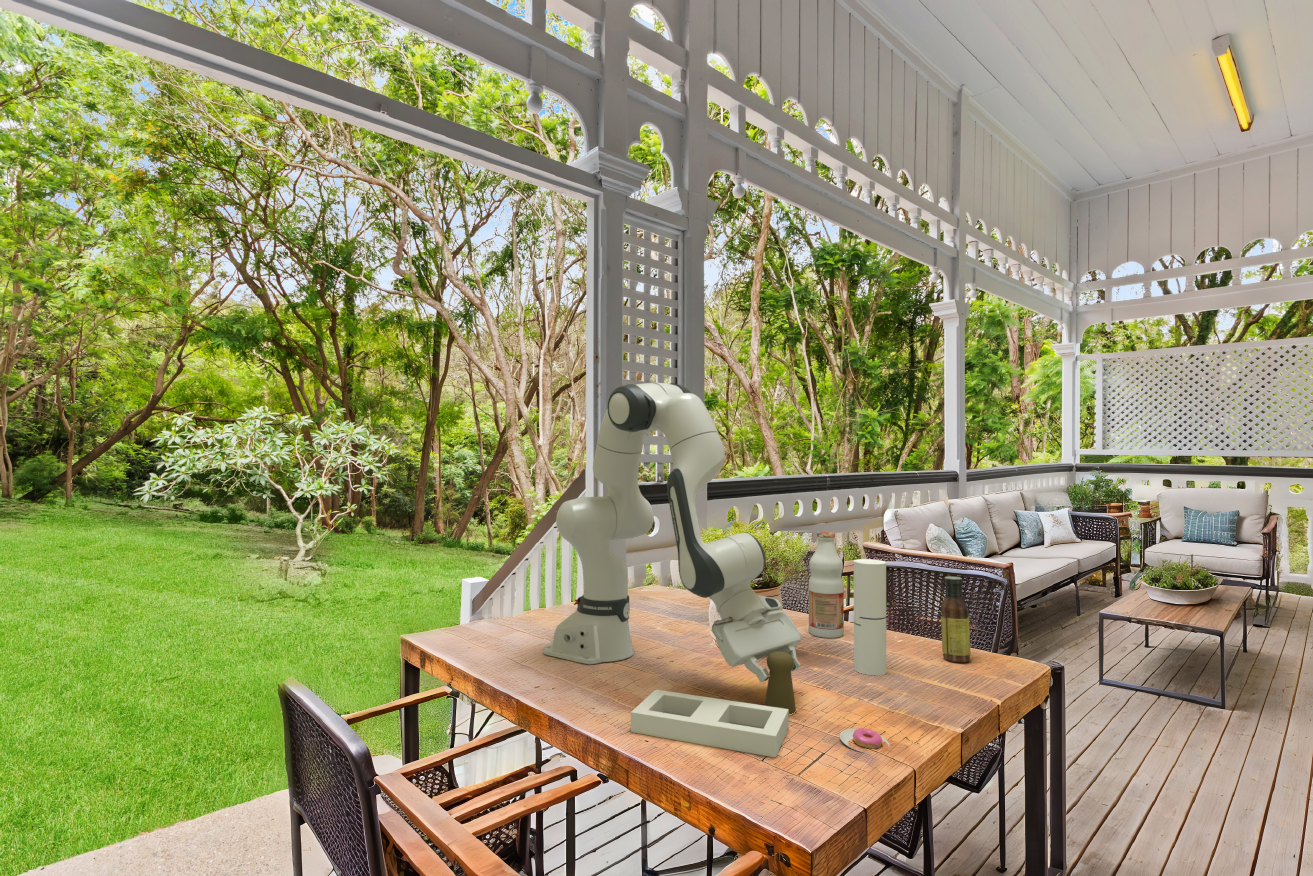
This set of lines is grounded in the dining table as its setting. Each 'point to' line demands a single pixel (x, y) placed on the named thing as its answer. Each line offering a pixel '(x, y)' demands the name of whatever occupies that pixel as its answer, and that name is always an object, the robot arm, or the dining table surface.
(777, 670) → the olive knobbed peg
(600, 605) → the robot arm
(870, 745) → the donut
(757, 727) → the socket rail
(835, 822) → the dining table surface
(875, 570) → the cylindrical container
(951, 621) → the sauce bottle
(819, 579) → the fruit juice
